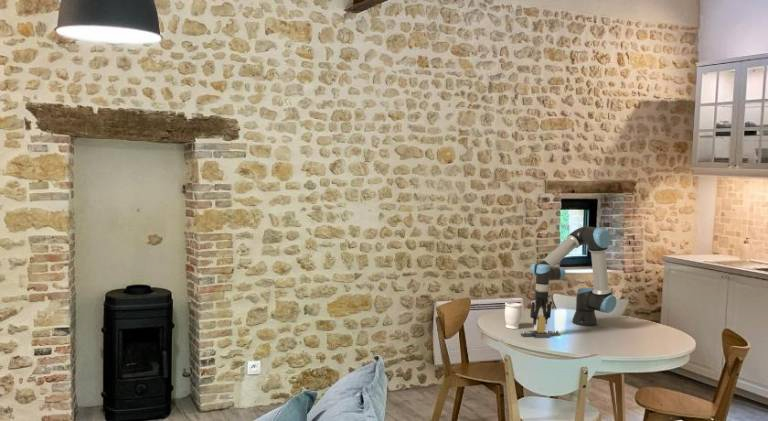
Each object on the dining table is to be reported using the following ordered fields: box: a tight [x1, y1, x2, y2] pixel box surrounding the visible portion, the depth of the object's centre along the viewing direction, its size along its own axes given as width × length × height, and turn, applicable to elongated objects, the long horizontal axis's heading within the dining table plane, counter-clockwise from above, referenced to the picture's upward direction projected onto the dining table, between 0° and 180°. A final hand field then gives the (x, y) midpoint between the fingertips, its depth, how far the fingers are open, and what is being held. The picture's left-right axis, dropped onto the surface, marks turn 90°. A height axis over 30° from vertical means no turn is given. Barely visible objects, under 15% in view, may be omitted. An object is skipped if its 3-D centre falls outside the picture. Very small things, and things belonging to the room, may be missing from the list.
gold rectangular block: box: [534, 314, 546, 334], centre depth 396 cm, size 4×4×10 cm
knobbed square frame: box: [520, 330, 560, 339], centre depth 396 cm, size 24×9×2 cm, turn 106°
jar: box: [504, 301, 523, 330], centre depth 414 cm, size 11×10×15 cm
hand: (539, 329), depth 396 cm, fingers open, 4 cm apart
